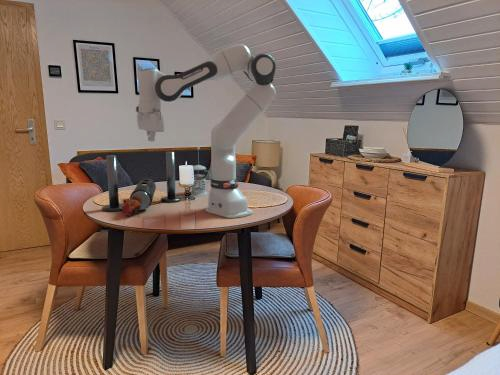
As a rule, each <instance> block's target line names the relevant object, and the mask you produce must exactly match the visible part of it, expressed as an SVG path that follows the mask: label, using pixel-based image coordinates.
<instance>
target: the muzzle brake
mask: <svg viewBox="0 0 500 375" xmlns="http://www.w3.org/2000/svg"><path fill="white" fill-rule="evenodd" d="M156 188H157V187H156V182H155V181H154V180H153V179H151V178H148V177H147V178H145V177H144V178H142V179H141V180H139V182H138V183H137V185H136V187H135V188H134V189H133V191H132V192H131V193H130V196H129V200H130V199H134V200H137V201H138V202H139V203H140V204H141V206H140V209H139V210H138V211H140V210H147V209H148V208H150V206H152V204H153V199H154V194H155V192H156V190H157V189H156Z"/></svg>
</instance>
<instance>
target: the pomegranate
mask: <svg viewBox="0 0 500 375" xmlns="http://www.w3.org/2000/svg"><path fill="white" fill-rule="evenodd" d="M123 203H124V205H123V207H122V213H123V215H125V216H127V217H131V216H132V215H135V214H136V215H138V213H137V212H138V211H140V210H139V209H140V206H141V204H140V203H139V202H138V201H137V200H134V199H130V198H129V199H128V200H126V199H124V200H123Z"/></svg>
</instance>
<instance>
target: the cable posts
mask: <svg viewBox="0 0 500 375" xmlns="http://www.w3.org/2000/svg"><path fill="white" fill-rule="evenodd" d="M105 158H106V172H107V186H108V188H107V189H108V201H109V203H108V204H106V205H103V206H102V211H103V212H106V213H117V212H123V210H122V207H123V205H124V204H123V203H120V200H119V198H120V197H119V184H118V183H119V181H118V168H117V167H118V166H117V155H113V154H111V155H106V157H105ZM165 160H166V161H165V163H166V166H165V167H166V168H165V169H166V196H163V197H161V198H160V201H161V200H162V201H163V202H162V201H161V202H162V203H167V204H172V203H173V204H174V203H179V202H181V201H182V199H183V198H182V196H178V195H176V164H175V163H176V161H175V151H166V152H165Z"/></svg>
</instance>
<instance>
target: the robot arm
mask: <svg viewBox="0 0 500 375" xmlns="http://www.w3.org/2000/svg"><path fill="white" fill-rule="evenodd" d="M276 70H277V64H276V61H275V59H274V57H272V56H271V55H270V54H268V53H258V54H256V55H253V54H252V53H251V51H250V49H249V47H247V45H246V44H244V43H238V44H237V43H236V44H234V45H230V46H228V47H225V48H222V49H221V50H219V51H216V52H215V53H213V54H211V55H210V56H208V57H207V58H206V59H205V60H203V61H202V62H201V63H200V64H198V65H196V66H194V67H191V68H189V69H188V70H185V71H183V72H180V73H178V74H165V73H163V72H161V71H160V70H159V69H158V68H153V67H152V68H146V69H145V68H144V69H143V70H140V71H139V73H138V85H137V86H138V88H137V89H138V94H139V98H138V104H137V106H136V107H135V112H136V113H137V114H136V119H137V120H136V121H137V128H138V130H143V131H145V132H146V136H147V141H148V142H155V138H156V134H157V133H162V132H164V131H165V120H164V114H162V105H161V103H162V102H161V101H164V102H169V103H171V102H175V101H177V100H178V99H180V98H181V96H182V95H183V92H184V91H185V90H187V89H189V88H192V87H194V86H196V85H198V84H201V83H204V82H207V81H219V80H225V79H226V78H229V77H231V76H234V75H235V74H237V73H240V72H243V73H244V75H246V78H248V79H249V80H250V81H251V82H252V86H251V88H250V89H249V90H248V91H247V92H246V93H245V94H244V95H243V96H242V98H241V99H240V100H239V101H238V102H237V103H236V104H235V105H234V106H233V107H232V108H231V110H230V111H229V112H228V113H227V114H226V115H225V116H224V117H223V118H222V120H221V121H219V123H216V124H215V125H214V126H213V127H212V129H211V132H210V143H211V144H210V146H211V147H210V148H211V149H210V150H211V151H210V152H211V155H210V157H211V172H210V174H211V179H210V180H209V183H210V190H209V192H208V196H207V207H206V208H205V212H207V213H210V214H213V215H216V216H220V217H224V218H228V219H233V218H234V219H236V218H242V217H246V216H250V215H252V214H254V211H253V210H252V209H250V208H249V207H248V199H247V197H246V196H245V195H244V194H243V193H242V191H241V190H240V188H239V185H240V184H239V183H240V182H239V181H238V179H237V169H236V168H237V158H236V144H237V143H238V142H239V141H240V140H241V138H242V137H243V136H244V135H245V133H246V132H247V131H248V130H249V129H250V127H251V126H252V125H253V124H254V123H255V122H256V121H257V120H258V119H259V118H260V117H261V116H262V114H264V112H265V111H266V110H267V109H268V108H269V107H270V105H271V104H272V102H273V101H274V100H275V98H276V95H277V92H276V88H275V86H274V85H273V82H274V77H275V74H276Z"/></svg>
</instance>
